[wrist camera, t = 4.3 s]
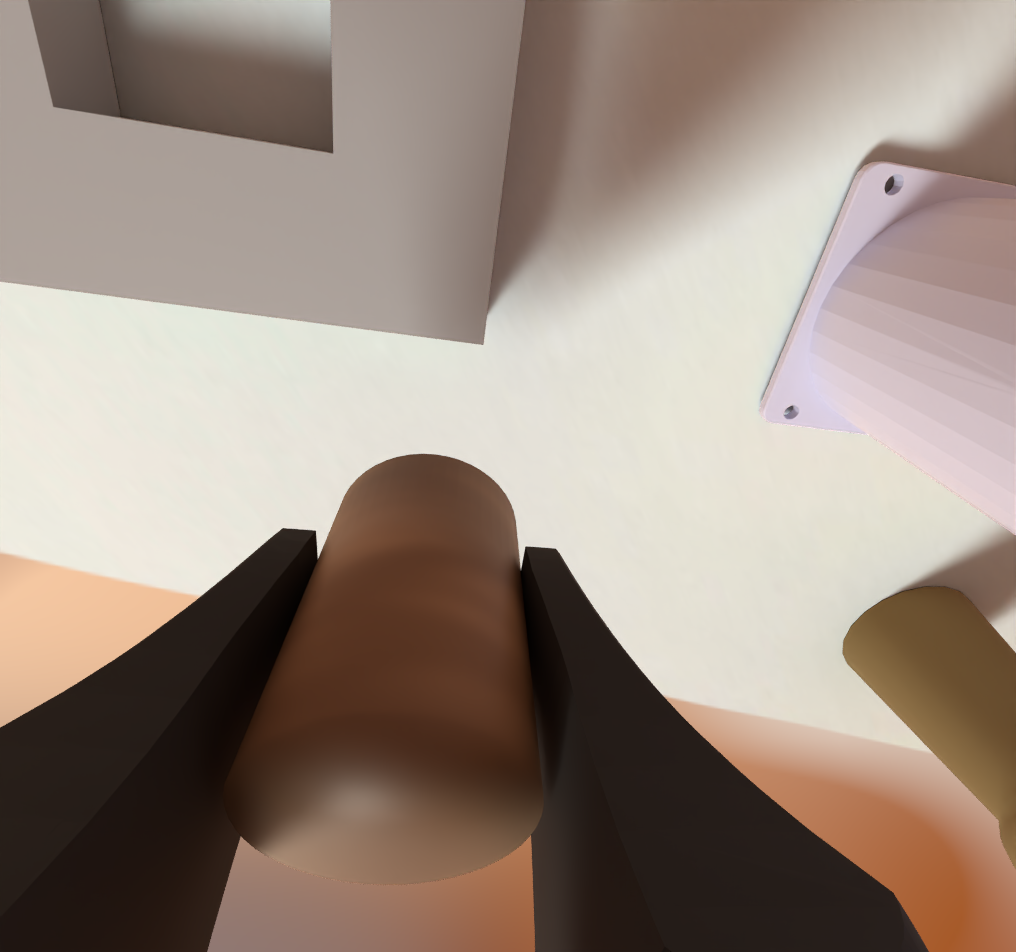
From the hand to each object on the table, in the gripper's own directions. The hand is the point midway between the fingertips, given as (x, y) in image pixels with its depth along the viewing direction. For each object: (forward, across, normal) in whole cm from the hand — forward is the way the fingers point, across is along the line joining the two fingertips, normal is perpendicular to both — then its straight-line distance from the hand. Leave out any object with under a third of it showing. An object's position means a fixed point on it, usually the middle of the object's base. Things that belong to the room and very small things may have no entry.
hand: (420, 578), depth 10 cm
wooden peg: (+2, 0, 0) cm, 2 cm away
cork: (+9, -23, +9) cm, 26 cm away
